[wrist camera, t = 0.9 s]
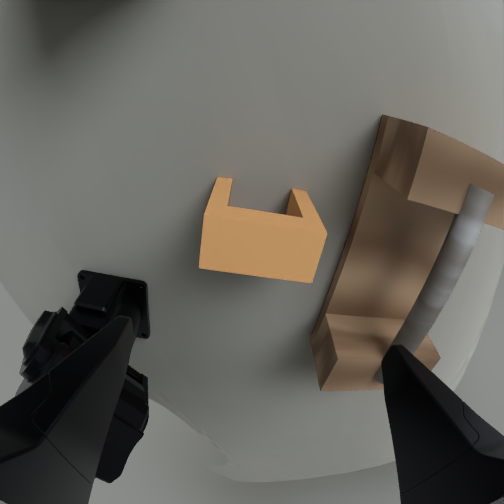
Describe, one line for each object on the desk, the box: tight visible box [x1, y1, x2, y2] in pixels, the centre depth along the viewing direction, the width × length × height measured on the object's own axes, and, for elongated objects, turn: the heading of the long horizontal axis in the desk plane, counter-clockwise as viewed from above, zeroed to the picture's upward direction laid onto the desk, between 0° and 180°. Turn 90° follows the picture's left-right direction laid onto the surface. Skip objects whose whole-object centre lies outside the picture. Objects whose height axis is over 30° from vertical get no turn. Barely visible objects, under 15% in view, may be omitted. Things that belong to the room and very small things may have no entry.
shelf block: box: [310, 115, 504, 391], centre depth 20 cm, size 20×10×7 cm, turn 171°
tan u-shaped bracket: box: [199, 177, 328, 283], centre depth 18 cm, size 6×3×6 cm, turn 80°
